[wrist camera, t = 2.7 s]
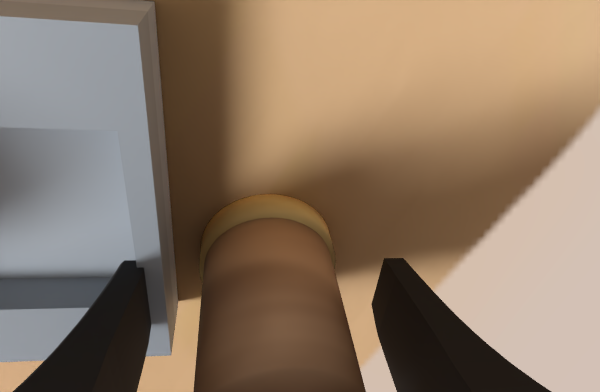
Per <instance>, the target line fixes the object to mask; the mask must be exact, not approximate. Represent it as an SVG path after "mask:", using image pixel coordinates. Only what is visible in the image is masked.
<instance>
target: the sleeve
mask: <svg viewBox="0 0 600 392" xmlns="http://www.w3.org/2000/svg"><path fill="white" fill-rule="evenodd" d="M335 261H336V260H335V252H334V248H333V244H332V241H331V237H330V233H329V230H328V227H327V225H326V222H325V221H324V219H323V218H322V216H321V215H320V214H319V213H318V212H317V211H316V210H315V209H314V208H312V207H311V206H310V205H308V204H306V203H305V202H303V201H301V200H298V199H296V198H292V197H289V196H284V195H278V194H261V195H254V196H249V197H246V198H242V199H240V200H237V201H235V202H233V203H231V204H229V205H227V206H226V207H224V208H223V209H221V210H220V211H219V212H218V213H217V214H216V215H214V217H213V218H212V219H211V220H210V221H209V223H208V225H207V226H206V228H205V230H204V233H203V236H202V240H201V250H200V260H199V273H200V278H201V281H202V283H203V284H202V297H201V309H200V321H199V333H198V345H197V357H196V370H195V382H194V392H366V391H365V387H364V383H363V379H362V375H361V372H360V368H359V364H358V360H357V356H356V352H355V348H354V344H353V341H352V337H351V333H350V329H349V325H348V321H347V317H346V314H345V310H344V306H343V302H342V298H341V294H340V290H339V286H338V283H337V279H336V275H335V271H334V269H335Z"/></svg>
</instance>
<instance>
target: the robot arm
mask: <svg viewBox="0 0 600 392" xmlns="http://www.w3.org/2000/svg"><path fill="white" fill-rule="evenodd" d="M372 309H373V314H374V319H375V324H376V329H377V333H378V337H379V340H380V343H381V346H382V349H383V352H384V355H385V358H386V361H387V363H388V367H389V369H390V372H391V375H392V378H393V381H394V384H395V387H396V390H397V392H551V391H549V390H548V389H546V388H545V387H543V386H542V385H540V384H539V383H537V382H536V381H535V380H533V379H532V378H530V377H529V376H528V375H526V374H525V373H523V372H522V371H521V370H519V369H518V368H517V367H515V366H514V365H513V364H511V363H510V362H509V361H507V360H506V359H505V358H504V357H503V356H501V355H500V354H499V353H498V352H496V351H495V350H494V349H493V348H491V347H490V346H489V345H488V344H486V342H484V341H483V340H482V339H481V338H480V337H479V336H478V335H477V334H475V333H474V332H473V331H472V330H471V329H470V328H469V327H468V326H467V325H466V324H465V323H464V322H463V321H462V320H460V319H459V318H458V317H457V316H456V315H455V314H454V313H453V312H452V311H451V310H450V309H449V308H448V307H447V306H446V304H445V303H444V302H442V300H441V299H440V298H439V297H438V296H437V295H436V294H435V293H434V292H433V291H432V290H431V288H430V287H429V286H428V285H427V284H426V283H425V282H424V281H423V280H422V279H421V277H420V276H419V275H418V274H417V273H416V272H415V271H414V270H413V269H412V267H411V266H410V265H409V264H408V263H407V262H406V261H405V260H404V259H403V258H384V261H383V265H382V268H381V272H380V276H379V279H378V283H377V287H376V290H375V294H374V298H373V301H372ZM150 331H151V318H150V310H149V302H148V295H147V287H146V280H145V272H144V267H139V268H137V265H136V260H124V261H123V262H122V263H121V264H120V266H119V267H118V269H117V270H116V272H115V273H114V275H113V276H112V278H111V279H110V281H109V282H108V284H107V285H106V287H105V288H104V289H103V291H102V292H101V293H100V295H99V296H98V298H97V299H96V300H95V302H94V303H93V304H92V306H91V307H90V308H89V309H88V311H87V312H86V313H85V315H84V316H83V317H82V318H81V320H80V321H79V322H78V323H77V325H76V326H75V327H74V328H73V329H72V330H71V332H70V333H69V334H68V335H67V336H66V337H65V339H64V340H63V341H62V342H61V343H60V344H59V346H58V347H57V348H56V349H55V350H54V351H53V352H52V353H51V354H50V355H49V357H48V358H47V359H46V360H45V361H44V362H43V363H42V364H41V365H40V366H39V367H38V368H37V369H36V370H35V371H34V372H33V373H32V374H31V375H30V376H29V377H28V378H27V379H26V380H25V381H24V382H23V383H22V384H21V385H20V386H18V387H17V388H16V389H15V390H14V391H13V392H137V388H138V384H139V380H140V377H141V373H142V369H143V365H144V361H145V357H146V353H147V348H148V344H149V338H150Z"/></svg>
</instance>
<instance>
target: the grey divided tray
mask: <svg viewBox="0 0 600 392" xmlns="http://www.w3.org/2000/svg"><path fill="white" fill-rule="evenodd" d="M124 260H136V265H137V268H139V267H144V272H145V280H146V287H147V295H148V302H149V310H150V318H151V331H150V338H149V344H148V348H147V353H146V356H167V355H171V352H172V345H173V337H174V330H175V323H176V315H177V308H178V293H177V280H176V267H175V255H174V242H173V229H172V216H171V204H170V191H169V178H168V165H167V153H166V140H165V127H164V115H163V102H162V89H161V76H160V64H159V51H158V38H157V25H156V13H155V1H144V0H0V362H17V361H42V360H46V359H47V358H48V357H49V355H50V354H51V353H52V352H53V351H54V350H55V349H56V348H57V347H58V346H59V344H60V343H61V342H62V341H63V340H64V339H65V337H66V336H67V335H68V334H69V333H70V332H71V330H72V329H73V328H74V327H75V326H76V325H77V323H78V322H79V321H80V320H81V318H82V317H83V316H84V315H85V313H86V312H87V311H88V309H89V308H90V307H91V306H92V304H93V303H94V302H95V300H96V299H97V298H98V296H99V295H100V293H101V292H102V291H103V289H104V288H105V287H106V285H107V284H108V282H109V281H110V279H111V278H112V276H113V275H114V273H115V272H116V270H117V269H118V267H119V266H120V264H121V263H122V262H123V261H124Z"/></svg>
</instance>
